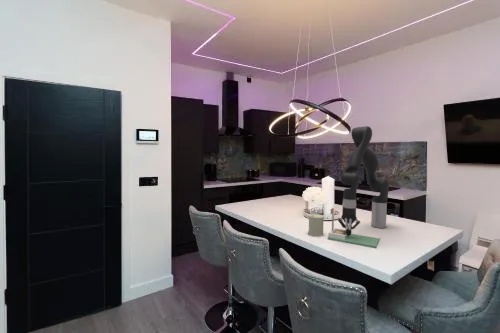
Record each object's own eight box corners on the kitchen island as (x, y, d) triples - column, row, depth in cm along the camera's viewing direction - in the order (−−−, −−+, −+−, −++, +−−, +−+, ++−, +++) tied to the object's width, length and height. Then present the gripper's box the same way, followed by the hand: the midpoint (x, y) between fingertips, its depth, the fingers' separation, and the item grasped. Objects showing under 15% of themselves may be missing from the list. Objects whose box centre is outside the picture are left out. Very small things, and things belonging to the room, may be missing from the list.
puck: (337, 233, 165) (337, 228, 165) (346, 235, 161) (347, 230, 161) (333, 235, 160) (333, 230, 160) (343, 237, 157) (343, 232, 156)
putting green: (334, 232, 170) (334, 230, 170) (379, 239, 156) (379, 238, 156) (327, 239, 157) (327, 237, 157) (375, 248, 143) (375, 246, 143)
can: (305, 232, 169) (305, 214, 169) (317, 231, 172) (318, 213, 172) (313, 237, 161) (314, 217, 160) (326, 235, 164) (327, 216, 163)
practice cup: (334, 231, 169) (334, 205, 168) (349, 234, 164) (350, 207, 163) (328, 236, 158) (329, 209, 157) (344, 239, 153) (345, 211, 152)
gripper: (362, 206, 157) (361, 235, 158) (339, 204, 164) (338, 231, 165) (360, 209, 150) (359, 239, 151) (336, 206, 157) (335, 235, 158)
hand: (348, 235), depth 158 cm, fingers closed
